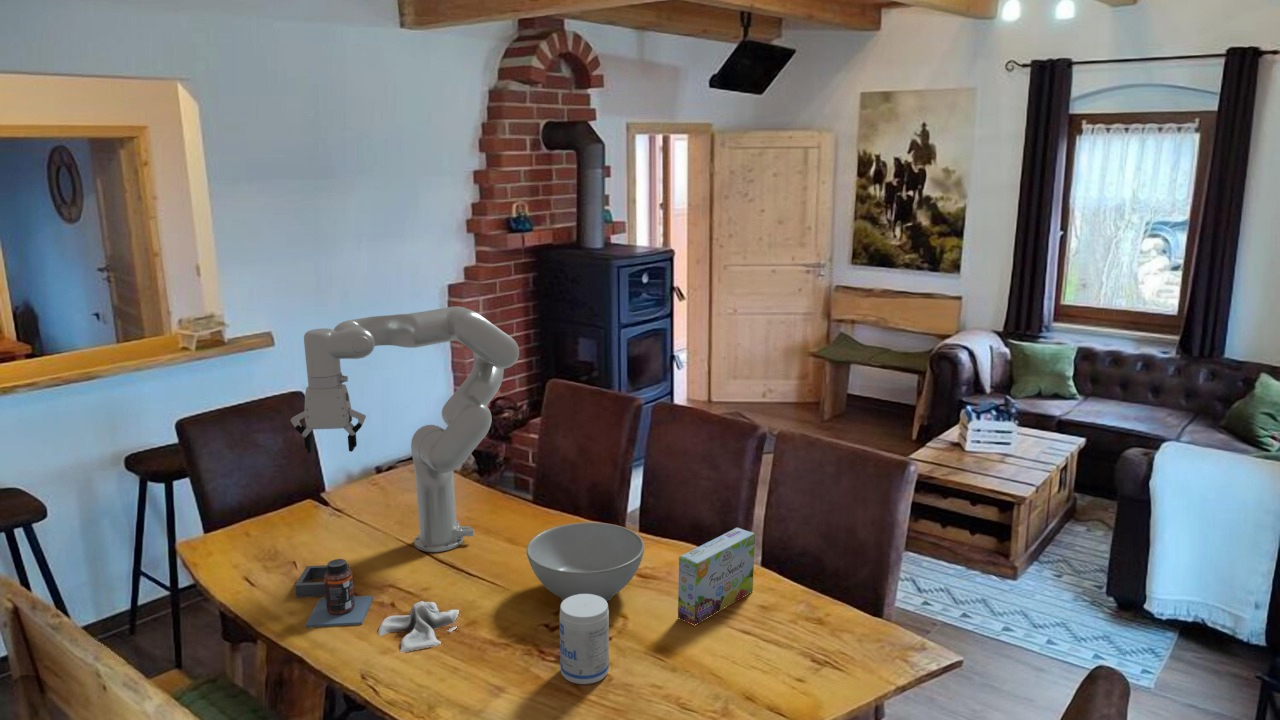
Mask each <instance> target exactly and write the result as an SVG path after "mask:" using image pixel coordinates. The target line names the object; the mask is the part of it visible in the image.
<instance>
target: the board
mask: <svg viewBox="0 0 1280 720" xmlns="http://www.w3.org/2000/svg"><path fill="white" fill-rule="evenodd" d="M373 600H374V595H360V596H359V595H357V596H356V595H354V601H355V603H354V604H355V606H354V608H353V609H352V610H351V611H350V612H348V613H344V614H336V615H335V614H331V613H329V612H328V611H327V604H326V597H320V598H319V600H318V601H317V603H316V605H315V606H314V609H313V610H312V612H311V614H310V615H309V617H308V619H307V620H306V621H307V622H306V623H305V624H304V626H305V628H319V627H320V628H321V627H323V628H324V627H341V626H343V627H344V626H345V627H346V626H361V625H363V623H364V621H365V619H366V617H367V615H368V612H369V610H370V607H371V606H372V603H373Z"/></svg>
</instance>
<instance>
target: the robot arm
mask: <svg viewBox="0 0 1280 720" xmlns="http://www.w3.org/2000/svg"><path fill="white" fill-rule="evenodd" d="M454 341H457V342H459V343H461V344H462V345H464V346H465V347H466V348H468V349H469V350H470V351H472V355H473V365H472V368H471V371H470V373H469V374H468V376H467V377H466V379H465V380H464V381H463V382H462V383H461V384H460V386H459V387H458V388H457V390H456V391H454V393H453V394H452V395H451V396H450V397H449V398H448V399H447V401H446V402H445V403H444V405H443V407H442V409H441V418H442V420H443V421H444V423H445V424H446V425H447V427H445V428H443V427H440V426H439V425H435V424H425V425H423V426H421V427H419V428H418V429H417V430H416V431H415V432H414V434H413V436H412V438H411V441H410V450H411V456H412V460H413V461H412V462H413V467H414V473H415V482H416V484H415V486H416V496H417V497H416V499H417V510H418V511H417V513H418V527H419V534H417V536H416V537H415V538H414V541H413V544H414V547H415V548H416V549H417V550H420V551H422V552H427V553H439V552H440V553H441V552H445V551H449V550H450V551H451V550H452V549H455V548H457V547H459V546H460V545H462V544H463V542H464V537H475V529H474V528H471V525H470V526H469V525H467V526H462V525H460V521H459V520H457V511H456V510H457V509H456V496H455V495H456V494H455V492H456V491H455V476H454V471H455V470H457V469H458V468H460V467H461V466H462V465H463V464H464V462H465V461H466V460H467V459H468V458H469V456H470V455H471V454H472V453H473V452H474V450H475V449H476V448H477V447H478V446H479V444H481V442H482V441H483V439H484V438H485V437H486V436H487V434H488V433H489V430H490V428H491V425H492V421H493V419H492V418H493V417H492V412H491V410H490V408H489V407H488V405H489V404H490V402H491V401H492V399H493V398H494V397H495V396H496V394H497V392H499V389H500V388H501V385H502V383H503V380H504V373H505V372H504V371H505V369H508V368H511V367H513V365H515V364H516V363H517V361H518V359H519V358H520V349H519V348H520V347H519V345H518V343H517V341H516V340H515V339H514V338H513V337H512V336H511V335H509V334H508V333H506V332H504V331H503V330H502V329H500V328H499V327H497V326H496V325H495V324H493V323H492V322H491V321H490V320H488V319H487V318H485V317H484V316H483V315H481V314H480V313H478V312H476V311H475V310H471V309H468V308H466V307H465V306H458V305H457V306H456V305H455V306H448V307H443V308H437V309H429V310H424V311H418V312H412V313H411V312H409V313H399V314H398V313H397V314H390V315H376V316H374V315H373V316H367V317H361V318H355V319H350V320H345V321H342V322H340V323H338V324H337V325H336V326H335V327H334V328H333V329H332V328H313V329H310V330H308V331H306V332H305V333H304V336H303V344H304V354H305V363H306V364H305V365H306V374H307V375H306V376H307V385H308V386H307V387H306V388H305V393H304V411H301V412H300V413H298V414H296V415H295V416H293V417H292V418H290V422H291V424H292V425H293V427H294V428H295V429H294V430H296V431H297V432H298V433H299V434H301V437H303V439H304V448H305V450H307V454H311V453H312V452H313V451H314V450H315V444H314V443H315V441H314V434H312V431H313V430H338V429H344V431H346V432H347V433H348V436H347V443H348V444H347V446H348V452H350V453H352V452H353V451H354V450H355V448H357V432H358V431H360V429H362V427H363V425H364V422H365V421H366V418H367V415H366V414H364V413H362V412H359V411H356V410H355V409H352V405H351V401H350V400H351V399H350V395H349V391H348V387H347V385H346V384H344V383H346V382H348V381H349V378H348V376H347V375H343V372H342V370H341V369H342V367H341V361H340V360H343V359H345V360H348V359H349V360H357V359H358V360H359V359H363V358H366V357H369V355H371V354H372V353H373V351H374V349H375V347H377V346H378V347H379V346H394V347H395V346H396V347H399V348H400V347H401V348H408V349H411V348H414V349H415V348H422V347H427V346H432V345H437V344H442V343H448V342H454ZM353 418H354V419H357V420H358V421H357V423H356V424H355V425H354V424H353V423H352V422H353ZM303 419H304V423H305V426H304V425H303V424H301V420H303Z"/></svg>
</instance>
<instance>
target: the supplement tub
mask: <svg viewBox="0 0 1280 720" xmlns="http://www.w3.org/2000/svg"><path fill="white" fill-rule="evenodd" d="M609 610H610V609H609V604H608V602H607V601H606V600H605V599H603V598H602V597H600V596H597V595H593V594H578V595H573V596H570V597H568V598H566V599H565V600H564V601H563V600H562V601H561V603H560V608H559V653H560V654H559V655H560V656H559V661H560V662H559V663H560V664H559V665H560V673H561V676H562V677H563V678H564V679H565V680H566V681H567V682H568V681H569V683H572V684H577V685H590V684H591V685H592V684H594V683H597V682H600V681H601V680H603V679H604V678H605V677H607V675H608V673H609V669H610V636H609V635H610V625H609V624H610V620H609V619H610V618H609V617H610V616H609V615H610V614H609V613H610V611H609Z"/></svg>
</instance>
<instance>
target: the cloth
mask: <svg viewBox="0 0 1280 720" xmlns="http://www.w3.org/2000/svg"><path fill="white" fill-rule="evenodd" d="M459 610H460V609H449V610H446V611H440V609H439V608H438V605H437V604H436V603H435V602H434V601H423V600H421V601H418V602H416V603H414V604H413V605H412V607H411V610H410V613H409V614H407V615H404V614H403V615H389V616H387V617H385V618H384V620H383V621H382V622H381V623H380V625H379V628H378V630H377V631H378V632H377V633H378V635H379V637H380V636H384V635H387V634H391V632H392V633H400V632H401V631H406V632H409V633H407V634H406V635H405V636H403V638H401V640H400V649H399V652H400V651H401V652H407V653H410V652H409V651H412V652H414V651H413V650H417V651H420V650H419V649H423V648H428V649H430V648H429V647H434V646H437V645H439V644H441V642H442V641H440V640H439V639H438V638H437V635H436V633H435V630H433V629H435V628H439V627H442V626H446V625H449V624H451V623H454V622H455V620H456V618H457V617H458V614H459ZM455 623H456V622H455ZM455 623H454V624H455ZM455 626H456V627H455ZM455 626H452V627H450V628H448V629H449V630H447V629H446V630H447V631H448V632H452V631H453V630H455V629H456V628H457V626H458V625H455ZM401 633H402V632H401ZM452 633H453V632H452ZM434 648H435V647H434ZM423 650H424V649H423Z"/></svg>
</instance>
